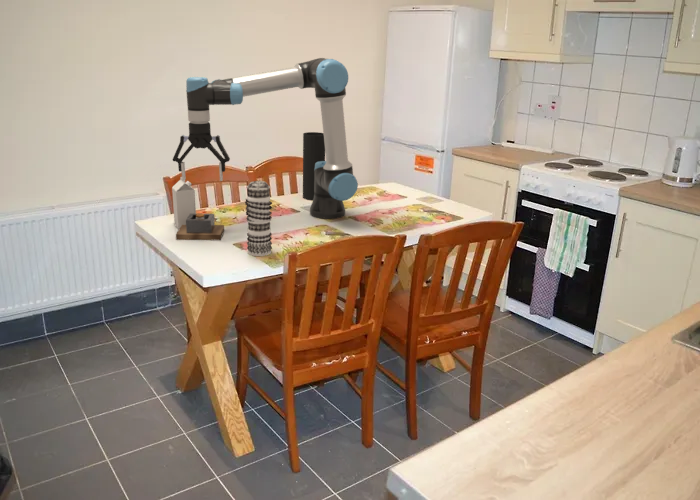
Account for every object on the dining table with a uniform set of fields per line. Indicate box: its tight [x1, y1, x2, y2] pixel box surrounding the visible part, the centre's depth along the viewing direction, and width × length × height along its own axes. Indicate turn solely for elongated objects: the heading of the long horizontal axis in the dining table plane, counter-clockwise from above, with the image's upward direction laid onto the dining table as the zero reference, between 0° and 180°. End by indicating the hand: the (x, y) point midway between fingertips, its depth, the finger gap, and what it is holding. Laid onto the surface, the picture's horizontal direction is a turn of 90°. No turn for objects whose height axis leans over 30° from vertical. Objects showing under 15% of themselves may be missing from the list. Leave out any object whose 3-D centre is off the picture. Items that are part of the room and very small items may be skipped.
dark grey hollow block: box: [186, 213, 216, 233], centre depth 228 cm, size 9×9×5 cm
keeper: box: [175, 212, 225, 241], centre depth 228 cm, size 16×12×8 cm
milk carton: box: [171, 176, 197, 230], centre depth 236 cm, size 7×7×19 cm
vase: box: [302, 131, 326, 201], centre depth 283 cm, size 10×10×30 cm
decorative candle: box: [244, 180, 273, 257], centre depth 209 cm, size 9×9×25 cm
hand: (202, 180), depth 224 cm, fingers open, 13 cm apart
